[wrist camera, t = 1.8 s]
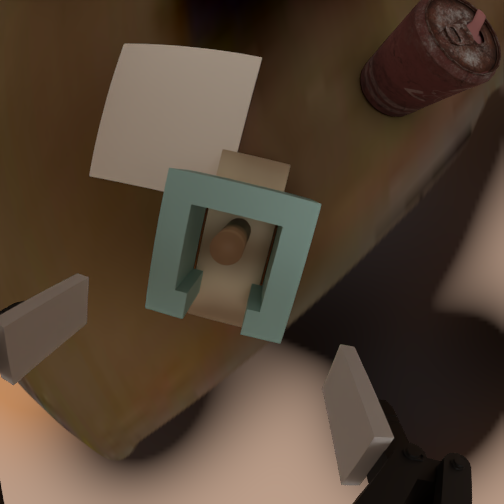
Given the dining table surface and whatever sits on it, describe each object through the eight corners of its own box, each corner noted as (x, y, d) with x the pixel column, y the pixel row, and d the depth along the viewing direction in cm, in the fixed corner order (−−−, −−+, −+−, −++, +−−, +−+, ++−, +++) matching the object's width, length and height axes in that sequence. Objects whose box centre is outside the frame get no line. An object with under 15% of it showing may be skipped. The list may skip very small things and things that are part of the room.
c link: (190, 170, 23) (168, 167, 18) (310, 198, 23) (321, 204, 18) (167, 283, 25) (145, 307, 20) (278, 312, 25) (280, 343, 20)
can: (427, 81, 24) (513, 34, 10) (402, 130, 25) (493, 101, 12) (375, 45, 24) (437, -29, 10) (348, 93, 25) (407, 29, 11)
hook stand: (231, 154, 27) (204, 137, 16) (287, 167, 27) (298, 158, 16) (200, 292, 30) (163, 353, 19) (251, 305, 30) (240, 374, 19)
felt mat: (125, 44, 25) (124, 43, 25) (262, 58, 25) (262, 57, 25) (90, 176, 28) (89, 176, 28) (224, 205, 28) (224, 205, 28)
